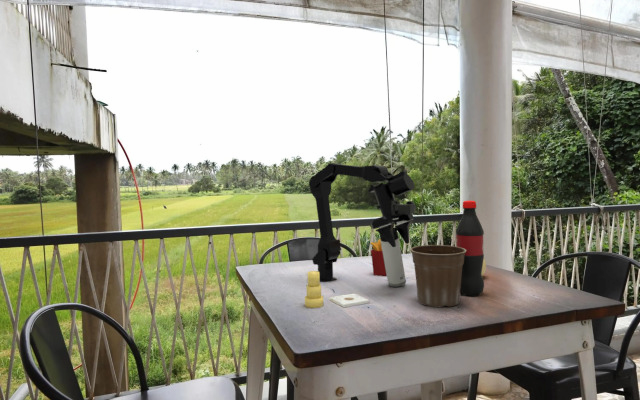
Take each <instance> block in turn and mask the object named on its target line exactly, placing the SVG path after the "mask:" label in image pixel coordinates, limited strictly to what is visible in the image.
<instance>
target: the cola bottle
mask: <svg viewBox="0 0 640 400" xmlns="http://www.w3.org/2000/svg"><path fill="white" fill-rule="evenodd" d="M462 209H463V211H462V216H461V218H460V220H459V222H458V223H457V226H456V230H455V236H456V241H455V243H456V245H455V246H456V247H461V248H464V249H466V253H465V255H464V264H463V265H462V276H461V288H460V295H463V296H469V297H475V296H479V295H482V293H483V292H484V288H485V281H484V279H483V275H482V274H481V272H482V266H483V259H485V258H484V257H485V256H484V255H485V254H484V235H485V233H484V228H483V226H482V223H481V222H480V220H479V218H478V216H477V212H476V209H477V201H475V200H463V202H462Z"/></svg>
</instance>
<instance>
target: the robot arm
mask: <svg viewBox="0 0 640 400" xmlns="http://www.w3.org/2000/svg"><path fill="white" fill-rule="evenodd" d="M338 175H341V176H348V177H355V178H360V179H363V180H364V181H367V182H369V183H378V184H370V187H369V188H368V191H367V192H368V193H374V195H375V198H376V200H377V203H378V205H377V206H376V208H377V210H380V213H381V215H382V216H380V217H378V218H375V219H372V221H371V223H370V225H371V227H372V230H375V232H377V233H379V235H380V234H381V235H382V236H383V237H384V238H385V239H386V240H387V242H388V243H389V244H390V245H391V246H392V247H396V243H395V238H394V234H393V228H398V230H397V233H399V234H398V235H400V237H401V238H402V240H403V241H404V243H405V244H406V245H407V244H409V243H410V226H411V224H412V223H413V220H414V219H415V218H414V216H413V215H415V213H416V210H417V205H416V203H415V202H414V200H408V201H406V203H400V200H398V199H395V196H397V197H398V196H401V195H404V194H405V193H408V192H411V191H413V190H414V188H415V183H414V180H413V179H412V177H411V176H410V175H409V174H408V171H406V170H402V171H400V172H398V173H397V174H395V175H394V174H392V173H391V172H390V171H389V170H388V168H387V167H386V166H385V165H366V166H365V165H364V166H357V165H350V164H341V163H337V162H330V163H328V164H327V165H326V166H325V167H324V168H322V169H320V170H319V171H318V172H316V173H315V175H312V176H311V177H310V178H309V180H308V187H309V189H310V193H311V194H312V196H313V198H314V200H315V205H316V211H317V212H316V213H317V219H318V227H319V240H318V244H317V253H316V254H315V255H314V256H313V257H312V259H311V260H312V264H313V265H316V266H317V271H318V272H319V276H320V282H321V283H322V282H331V281H336V280H337V278H336V277H335V276H334V268H333V265H334V264H333V263H337V262H338V258H339V256H340V255H341V251H342V247H341V240H340V239H336V237H335V235H334V229H333V223H332V214H331V205H330V195H331V193H332V184H333V183H334V182H335V181H336V179H337V177H338ZM384 182H386V183H384Z"/></svg>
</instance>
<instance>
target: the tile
mask: <svg viewBox="0 0 640 400" xmlns="http://www.w3.org/2000/svg"><path fill="white" fill-rule="evenodd" d="M328 300H329V301H330V302H333V303H334V304H337V305H338V306H340V307H342V308H347V307H354V306H360V305H364V304H370V299H368V298H365V297H363V296H360V295H359V294H356V293H350V294H344V295H337V296H336V295H335V296H331V297H329V299H328Z"/></svg>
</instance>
